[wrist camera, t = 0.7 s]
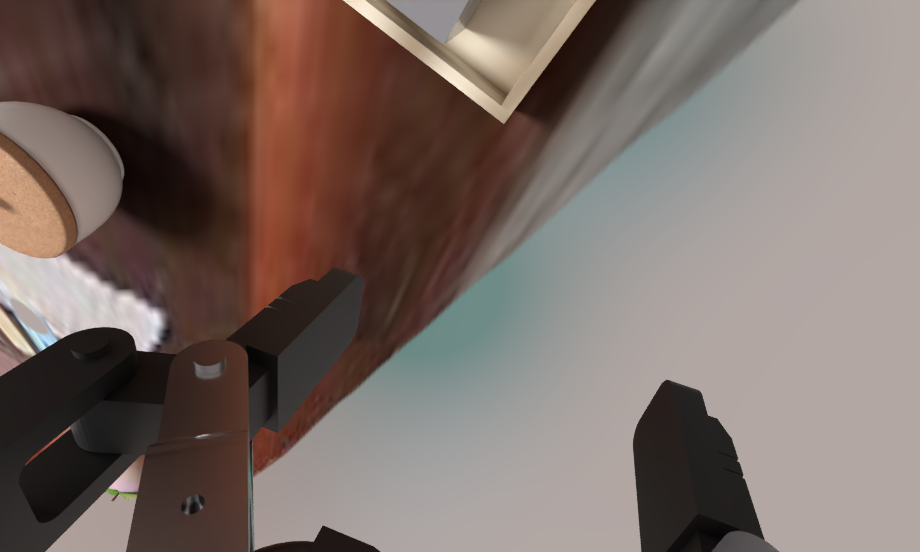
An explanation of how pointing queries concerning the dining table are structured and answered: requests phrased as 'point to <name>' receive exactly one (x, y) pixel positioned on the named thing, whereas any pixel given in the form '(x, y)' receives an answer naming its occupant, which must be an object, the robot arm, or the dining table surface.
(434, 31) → the gray cube
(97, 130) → the lidded bowl
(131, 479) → the decorative fruit
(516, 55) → the tray
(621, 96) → the dining table surface
